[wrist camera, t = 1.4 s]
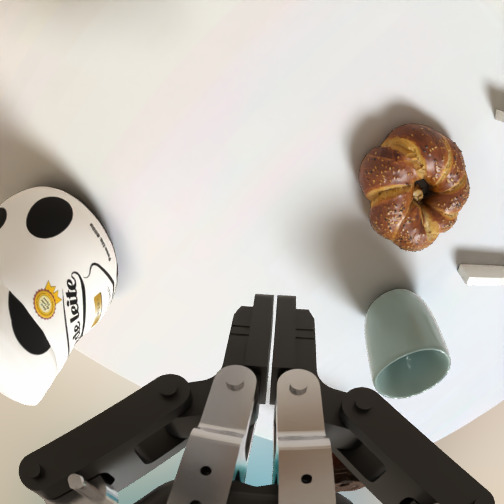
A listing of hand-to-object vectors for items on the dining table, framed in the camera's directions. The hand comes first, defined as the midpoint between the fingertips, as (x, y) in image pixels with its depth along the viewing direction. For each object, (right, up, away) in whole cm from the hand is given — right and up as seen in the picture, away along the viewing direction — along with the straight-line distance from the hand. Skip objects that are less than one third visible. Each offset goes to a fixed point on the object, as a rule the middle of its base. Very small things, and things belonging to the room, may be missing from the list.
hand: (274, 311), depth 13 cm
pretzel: (+14, +9, +14) cm, 21 cm away
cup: (+15, -4, +21) cm, 26 cm away
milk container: (-23, +3, +21) cm, 31 cm away
